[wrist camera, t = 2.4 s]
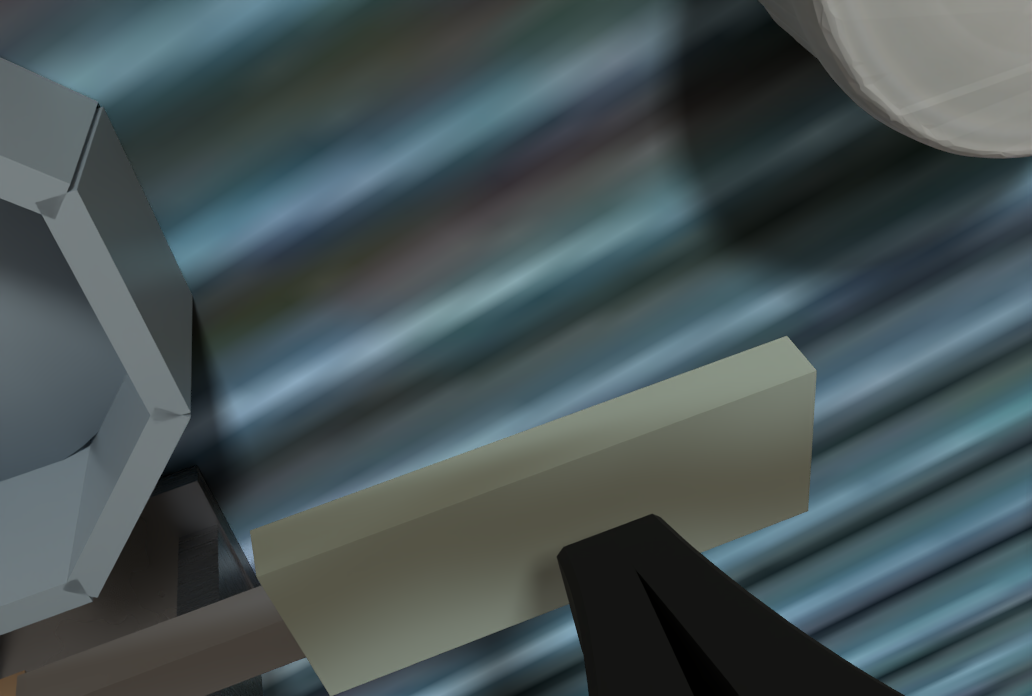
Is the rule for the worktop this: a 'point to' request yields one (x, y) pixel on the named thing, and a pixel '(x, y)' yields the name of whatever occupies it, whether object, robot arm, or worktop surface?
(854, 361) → the worktop surface
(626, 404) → the lever
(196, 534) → the fulcrum
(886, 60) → the ramekin
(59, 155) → the bowl
